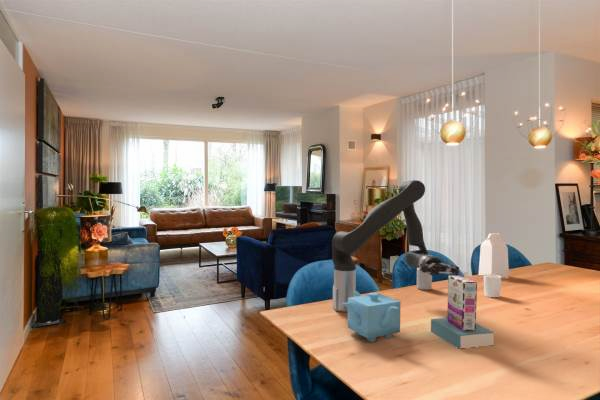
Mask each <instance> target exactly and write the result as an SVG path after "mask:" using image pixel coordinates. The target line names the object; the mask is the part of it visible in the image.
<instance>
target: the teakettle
mask: <svg viewBox="0 0 600 400" xmlns="http://www.w3.org/2000/svg"><path fill="white" fill-rule="evenodd" d="M353 292H354V294H355V297H350V298H348V302H344V303H341V304H343V305H345V306H346V307H347V309H348V312H347V328H348V329H350V330H351V331H353V332H354V334H356V335H359V336H360V335H361V336H362V337H364V338H365V339H366V341H368V342H371V343H373V342H376V340H377V338H378V337H379V338H380V337H383V338H386V339H392V338H393V336H392V334H397V333H401V303H402V302H401V301H400V300H399V299H396V298H392V297H390V296H386V295H384V294H381V293H377V292H370V293H368V294H364V295H361V293H360V292H359V291H357V290H355V291H353Z"/></svg>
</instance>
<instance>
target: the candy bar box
mask: <svg viewBox="0 0 600 400" xmlns="http://www.w3.org/2000/svg"><path fill="white" fill-rule="evenodd" d="M447 278H448V280H447V281H448V284H447V313H446V314H447V315H446V316H447V317H446V318H447V320H448V321H449V322H450V323H452V324H453V325H455V326H456V327H458V328H459V329H461V330H462V331H476V323H477V301H478V300H477V298H478V297H477V296H478V293H477V292H478V282H477V281H475V280H473V279H470V278H468V277H465V276H463V275H448V277H447Z"/></svg>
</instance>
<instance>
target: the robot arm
mask: <svg viewBox="0 0 600 400" xmlns="http://www.w3.org/2000/svg"><path fill="white" fill-rule="evenodd" d="M425 193H426V186H425V184H424V183H423V182H422V181H420V180H418V179H417V180H408V181H404V182H402V183H400V184H399V186H398V194H396V195H394V196H392V197H389V198H388V199H386V200H384V201H382V202H380V203H378V204H377V205H376V206H375V207H373V208H372V209H370V211H369V212H367V214H366V216H365V218H364V220H363V222H362V223H361V224H360V225H359V226H357V227H356V228H355V229H353V230H351V231H344V230H343V231H338V232H336V233H335V234H334V235H333V237H332V241H331V254H332V255H331V258H332V263H333V266H334V267H333V269H334V270H333V285H332V308H333V309H334V311H335V312H343V313H344V312H345V313H346V312H347V313H348V309H347V307H346V306H345V305H343V304H341V303H344V302H348V298H350V297H356V296H355V294H354V292H353V291H356V289H357V288H356V280H357V278H356V277H357V275H356V274H357V273H356V271H357V267H356V262H355V261H354V259H353V258H352V255H353V254H355V253H356V252H357V251H359V250H360V248H361V247H362V246H363V245H364V244H365V243H366V242H368V240H369V239H371V238H372V237H373V236H374V235H376V233H378V232H379V231H380V230H381V229H383V228H384V227H386V226H387V225H389V223H390V222H391V221H392V220H394V219H395V218H396V217H397V216H398V215H400V214H401V213H402V212H403V215H404V219H405V220H404V221H405V226H406V233H407V234H406V235H407V243H408V245H409V246H411V247H417V248H418V250H411V251H408V252H407V253H406V254H405V262H406V263H407V265H408V266H409V267H411V268H416V269H417V268H419V270H420V271H422V272H424V273H428V274H430V275H432V277H434V276H439V275H440V274H445V275H446V274H447V275H450V274H453V276H459V274H460V267H459V266H457V265H455V264H451V263H450V264H445V263H443V261H442V260H441V259H440V258H438V257H436V256H434V255H431V254H430V253H429V252H428V250H427V246H426V244H425V239H424V231H423V225H422V223H421V221H420V218H419V216H418V215H417V213H416V210H415V206H414V203H416V202H418V201H419V200H420V199H422V198H423V197H424V195H425Z"/></svg>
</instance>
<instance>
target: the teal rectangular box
mask: <svg viewBox="0 0 600 400" xmlns="http://www.w3.org/2000/svg"><path fill="white" fill-rule="evenodd" d="M430 332H431V333H432V334H434V335H435V336H437V337H439V338H440V339H442V340H443V341H445V342H446V343H448V344H450V345H451V344H452V345H451V346H453V347H454V348H456V347H457V348H456V349H458V350H462V349H461V348H466V349H472V348H471V347H476V348H480V347H479V346H486V347H489V346H488V345H493V346H494V338H495V337H494V331H492V330H491V329H489V328H487V327H485V326H482V325H480V324H478V323H477V322H476V331H462V330H461V329H459V328H458V327H456V326H455V325H453V324H452V323H450V322H449V321H448V320H447V317H438V318H431V319H430ZM459 348H460V349H459Z"/></svg>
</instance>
